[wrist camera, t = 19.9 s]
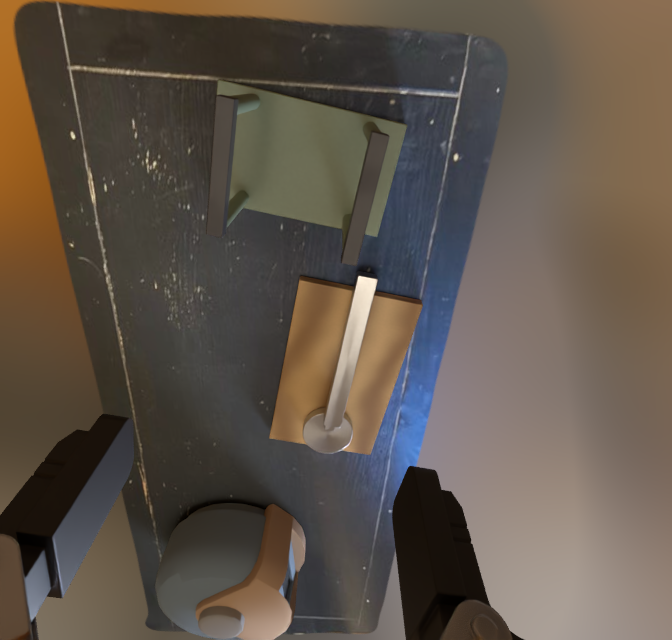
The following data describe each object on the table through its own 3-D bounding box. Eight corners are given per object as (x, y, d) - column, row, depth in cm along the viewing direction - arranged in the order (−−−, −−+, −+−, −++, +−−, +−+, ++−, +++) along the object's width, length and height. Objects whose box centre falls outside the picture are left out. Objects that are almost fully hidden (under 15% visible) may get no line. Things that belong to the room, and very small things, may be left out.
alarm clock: (309, 576, 70) (304, 664, 59) (187, 578, 70) (160, 665, 60) (300, 496, 61) (291, 584, 50) (160, 499, 61) (122, 586, 51)
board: (421, 299, 46) (423, 305, 44) (369, 448, 56) (370, 455, 55) (300, 275, 44) (299, 279, 43) (270, 431, 55) (269, 438, 54)
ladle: (337, 262, 44) (337, 271, 41) (394, 273, 45) (398, 283, 42) (299, 443, 53) (297, 460, 50) (346, 450, 54) (347, 468, 51)
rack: (405, 123, 37) (427, 137, 28) (376, 233, 42) (386, 277, 32) (221, 79, 36) (176, 77, 26) (212, 197, 41) (171, 233, 31)
